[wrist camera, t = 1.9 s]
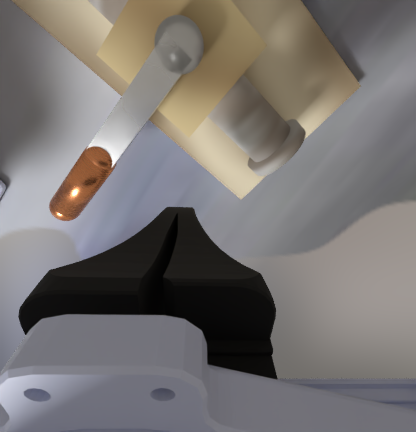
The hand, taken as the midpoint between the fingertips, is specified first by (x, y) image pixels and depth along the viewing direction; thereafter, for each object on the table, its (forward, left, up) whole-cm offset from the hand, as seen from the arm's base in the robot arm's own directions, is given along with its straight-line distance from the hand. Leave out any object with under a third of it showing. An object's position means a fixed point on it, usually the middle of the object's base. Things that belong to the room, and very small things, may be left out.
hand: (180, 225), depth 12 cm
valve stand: (+6, +5, -9) cm, 11 cm away
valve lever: (+1, +5, -3) cm, 6 cm away
